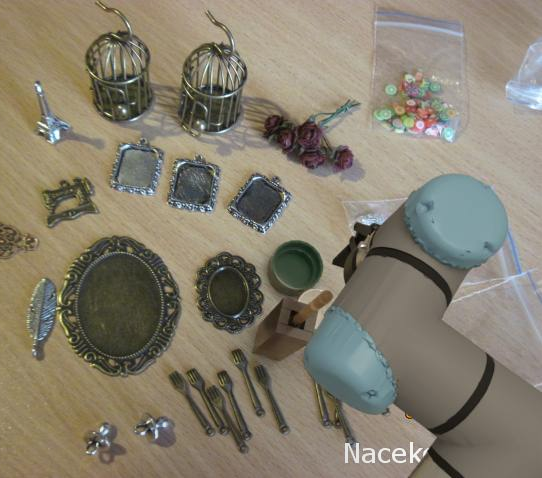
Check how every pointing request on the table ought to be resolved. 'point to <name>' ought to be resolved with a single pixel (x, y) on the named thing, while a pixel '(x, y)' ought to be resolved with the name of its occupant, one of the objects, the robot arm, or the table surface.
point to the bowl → (295, 267)
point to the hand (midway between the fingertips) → (330, 310)
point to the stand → (283, 331)
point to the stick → (311, 308)
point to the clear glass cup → (310, 296)
